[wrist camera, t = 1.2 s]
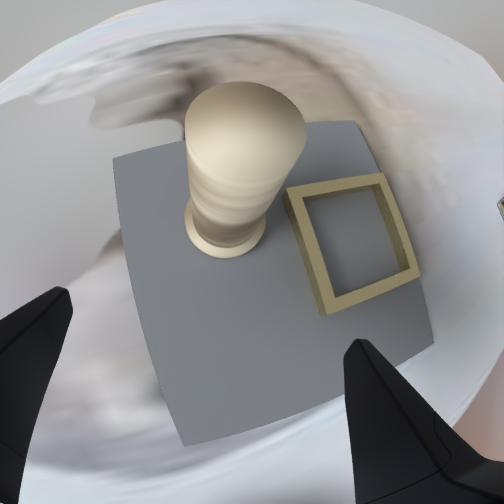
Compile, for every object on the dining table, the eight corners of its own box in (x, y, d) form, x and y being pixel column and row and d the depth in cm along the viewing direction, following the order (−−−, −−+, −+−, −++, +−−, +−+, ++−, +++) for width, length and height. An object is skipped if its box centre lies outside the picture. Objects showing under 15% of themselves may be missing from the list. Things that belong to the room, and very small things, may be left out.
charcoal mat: (428, 342, 23) (433, 343, 23) (184, 442, 18) (183, 446, 17) (351, 124, 27) (354, 120, 27) (114, 163, 22) (112, 158, 22)
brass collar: (410, 278, 24) (420, 275, 22) (319, 315, 21) (327, 315, 20) (375, 178, 25) (383, 172, 24) (281, 195, 23) (285, 188, 22)
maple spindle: (273, 248, 22) (343, 176, 10) (195, 268, 21) (185, 207, 9) (250, 178, 23) (290, 70, 11) (178, 194, 22) (160, 84, 10)
